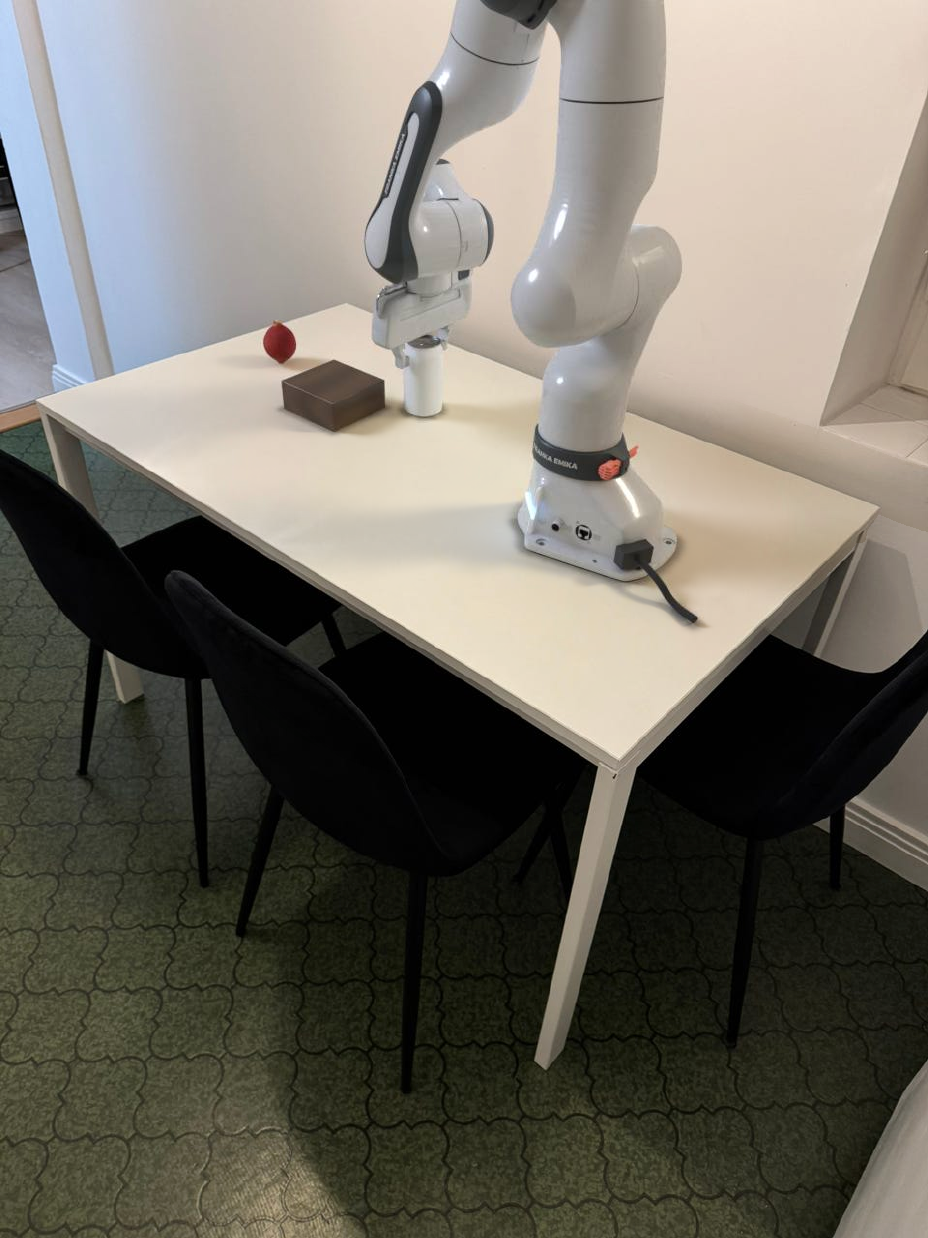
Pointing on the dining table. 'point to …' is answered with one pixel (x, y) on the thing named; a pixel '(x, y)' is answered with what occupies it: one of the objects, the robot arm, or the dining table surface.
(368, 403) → the brown square block
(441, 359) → the can
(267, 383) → the dining table surface
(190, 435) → the dining table surface
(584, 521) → the robot arm
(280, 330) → the onion
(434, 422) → the dining table surface
